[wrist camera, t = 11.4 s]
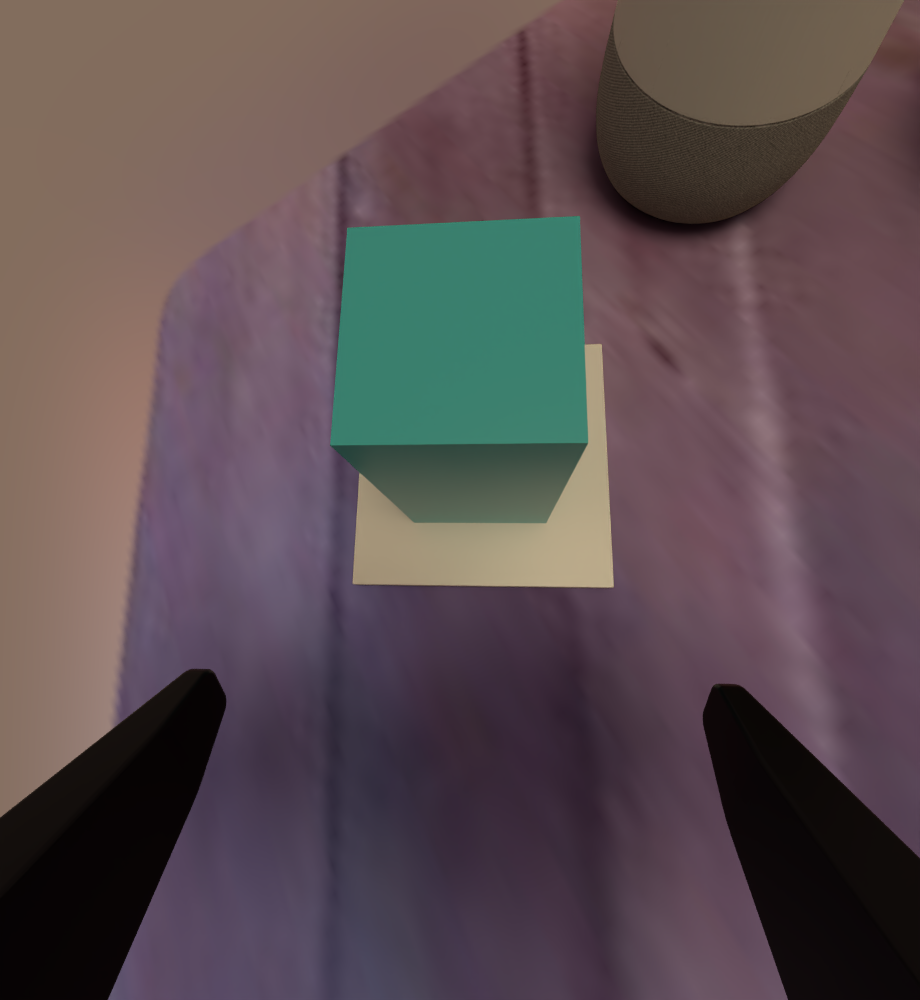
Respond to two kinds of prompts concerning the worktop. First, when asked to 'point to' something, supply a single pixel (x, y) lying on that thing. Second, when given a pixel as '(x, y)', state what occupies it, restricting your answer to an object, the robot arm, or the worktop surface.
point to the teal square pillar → (463, 366)
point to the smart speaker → (726, 96)
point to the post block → (500, 530)
